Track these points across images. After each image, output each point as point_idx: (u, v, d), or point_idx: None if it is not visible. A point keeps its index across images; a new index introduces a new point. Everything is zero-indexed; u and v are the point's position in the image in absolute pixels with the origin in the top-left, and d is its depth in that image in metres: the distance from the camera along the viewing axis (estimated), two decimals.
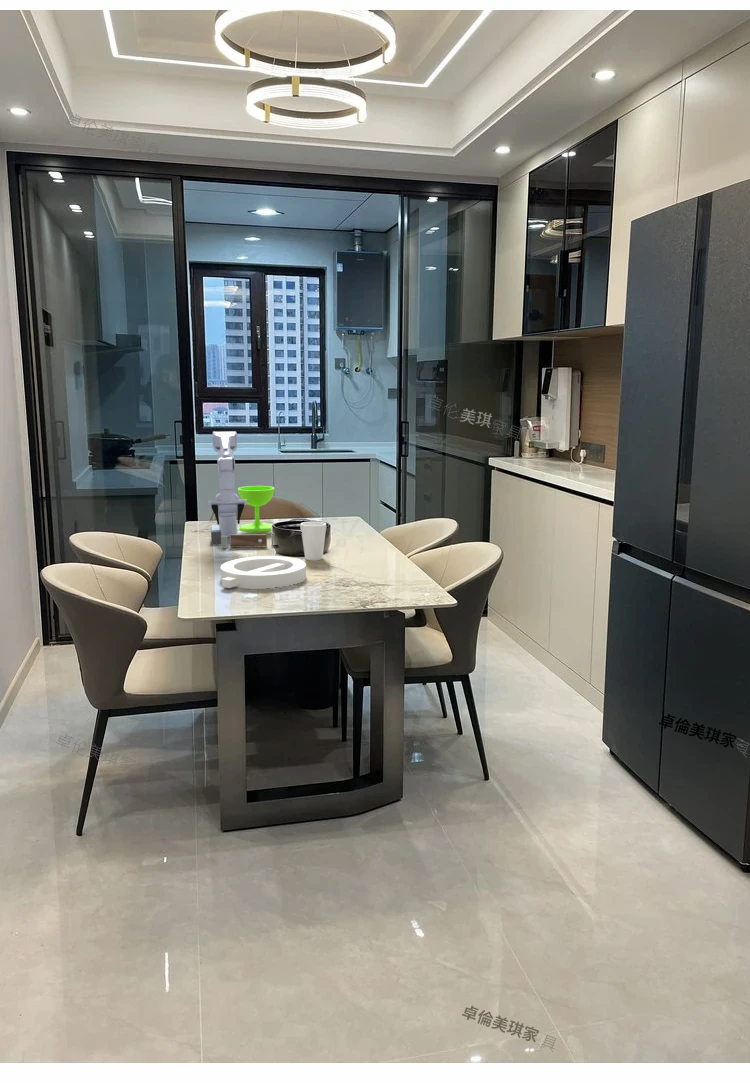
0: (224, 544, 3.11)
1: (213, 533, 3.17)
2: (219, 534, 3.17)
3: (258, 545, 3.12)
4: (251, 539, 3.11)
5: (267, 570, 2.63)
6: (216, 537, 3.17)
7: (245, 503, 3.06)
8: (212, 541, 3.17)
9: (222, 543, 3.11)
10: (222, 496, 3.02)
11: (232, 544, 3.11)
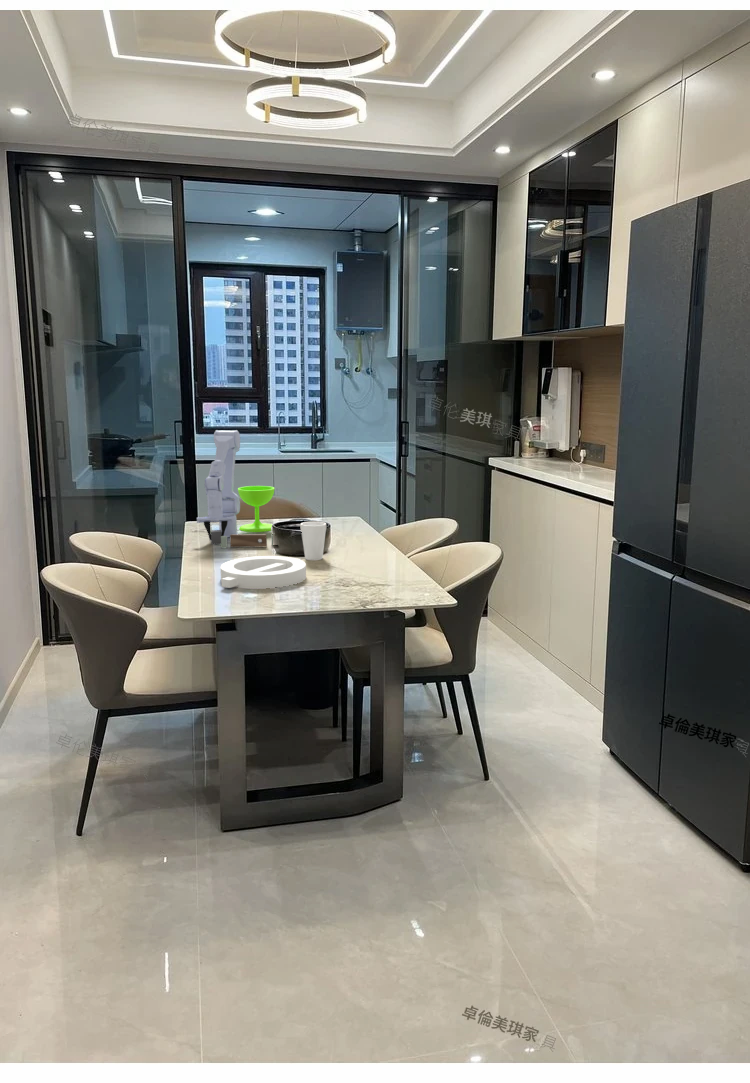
0: (224, 544, 3.11)
1: (213, 533, 3.17)
2: (219, 534, 3.17)
3: (258, 545, 3.12)
4: (251, 539, 3.11)
5: (267, 570, 2.63)
6: (216, 537, 3.17)
7: (232, 520, 3.18)
8: (212, 541, 3.17)
9: (222, 543, 3.11)
10: (210, 513, 3.15)
11: (232, 544, 3.11)
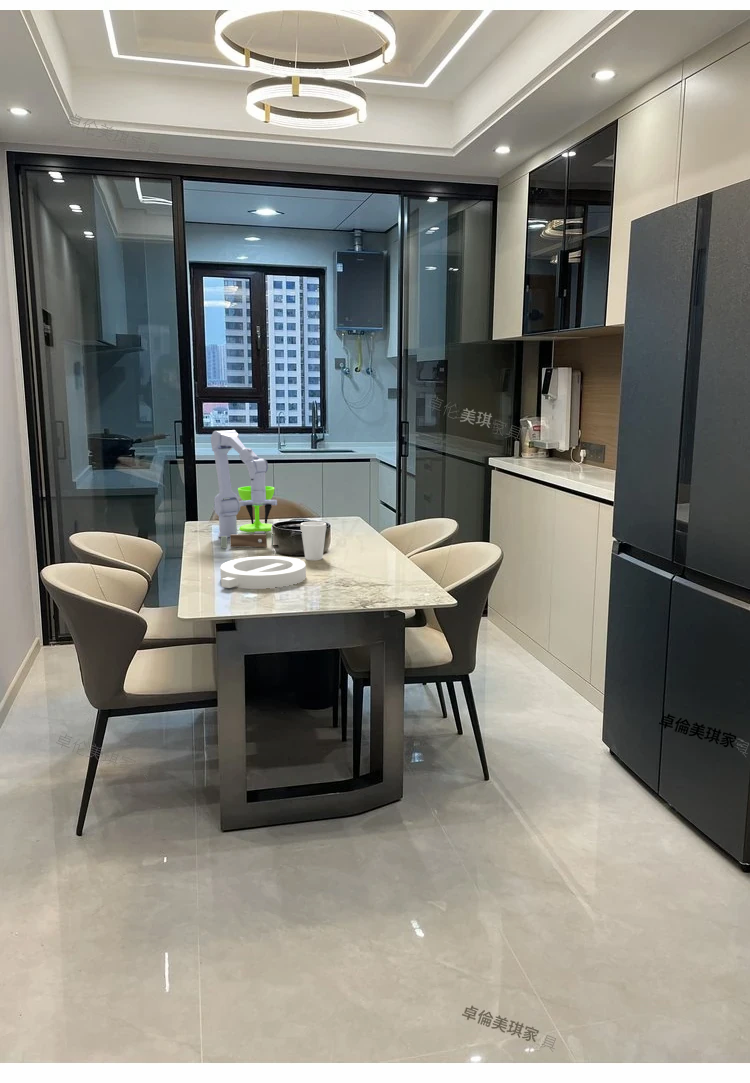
0: (224, 544, 3.11)
1: None
2: None
3: (258, 545, 3.12)
4: (251, 539, 3.11)
5: (267, 570, 2.63)
6: None
7: (275, 503, 3.15)
8: None
9: (222, 543, 3.11)
10: (253, 497, 3.12)
11: (232, 544, 3.11)
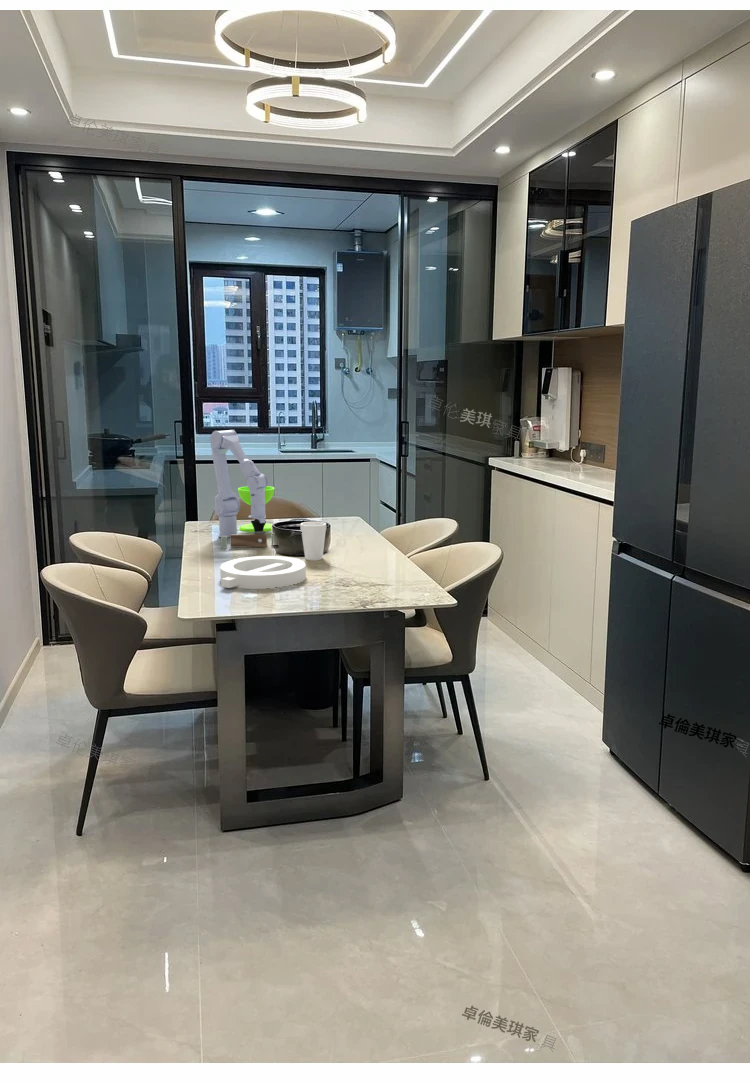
0: (224, 544, 3.11)
1: None
2: None
3: (258, 545, 3.12)
4: (251, 539, 3.11)
5: (267, 570, 2.63)
6: None
7: (260, 521, 3.16)
8: None
9: (222, 543, 3.11)
10: None
11: (232, 544, 3.11)
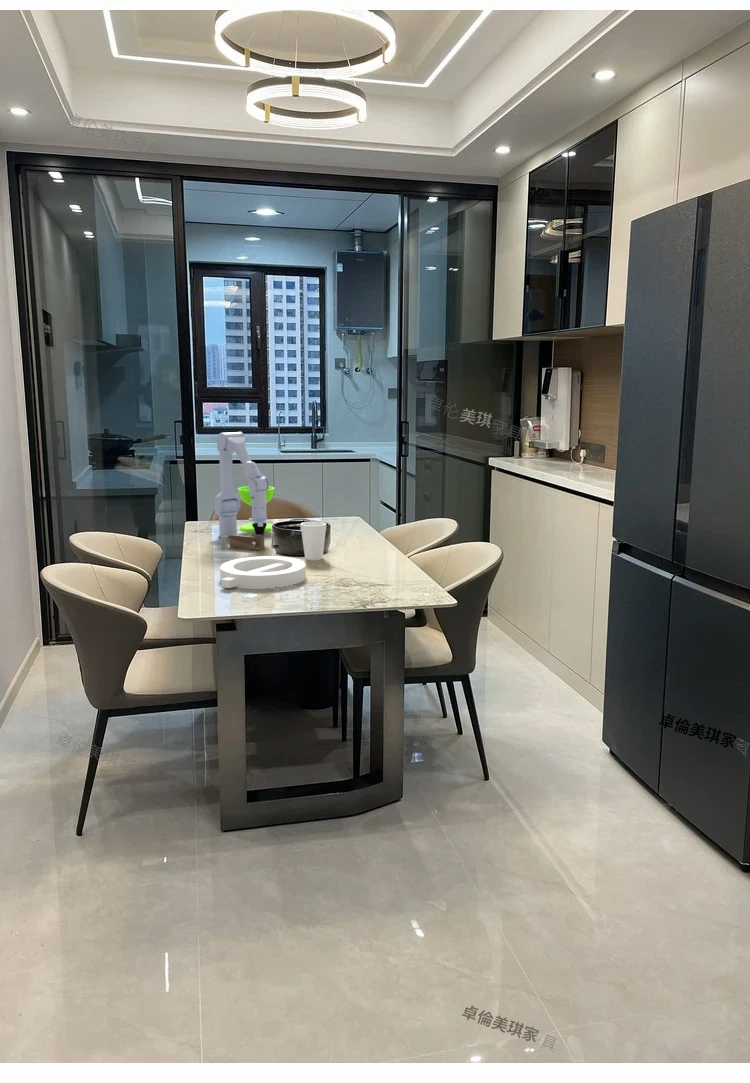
0: (224, 544, 3.11)
1: None
2: None
3: (253, 548, 3.07)
4: (247, 541, 3.08)
5: (267, 570, 2.63)
6: None
7: (257, 524, 3.09)
8: None
9: (222, 543, 3.11)
10: None
11: (231, 544, 3.11)
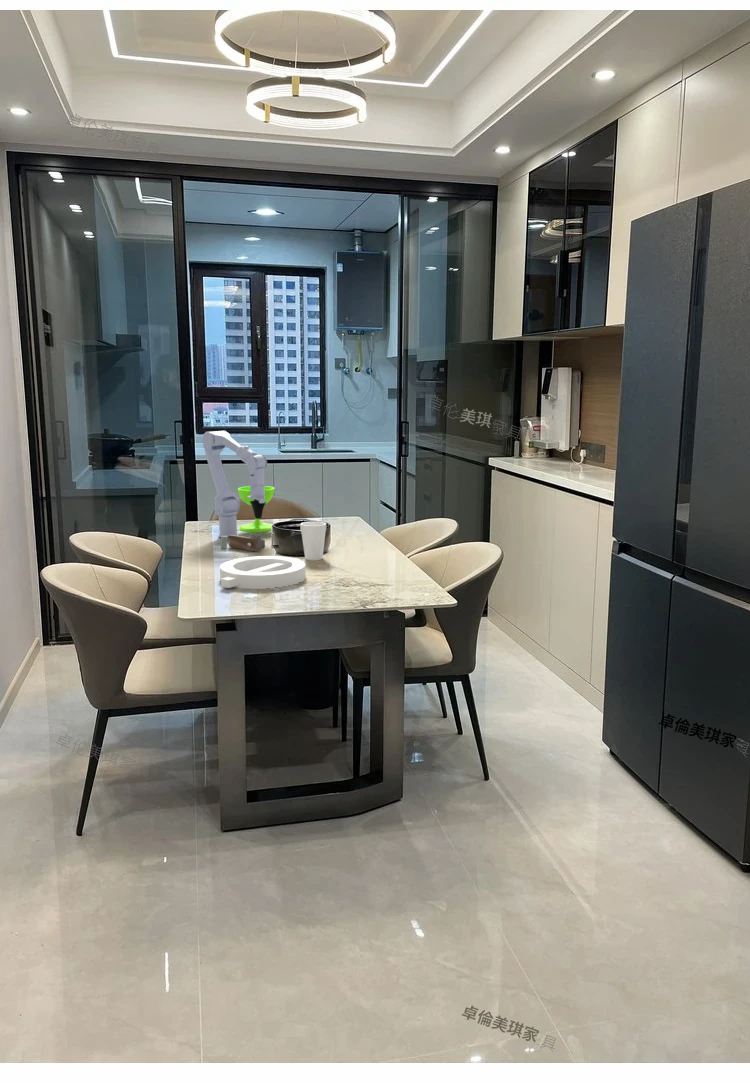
0: (224, 544, 3.11)
1: None
2: None
3: (249, 549, 3.05)
4: (244, 542, 3.06)
5: (266, 570, 2.63)
6: None
7: (259, 501, 3.14)
8: None
9: (222, 543, 3.11)
10: None
11: (230, 544, 3.11)
